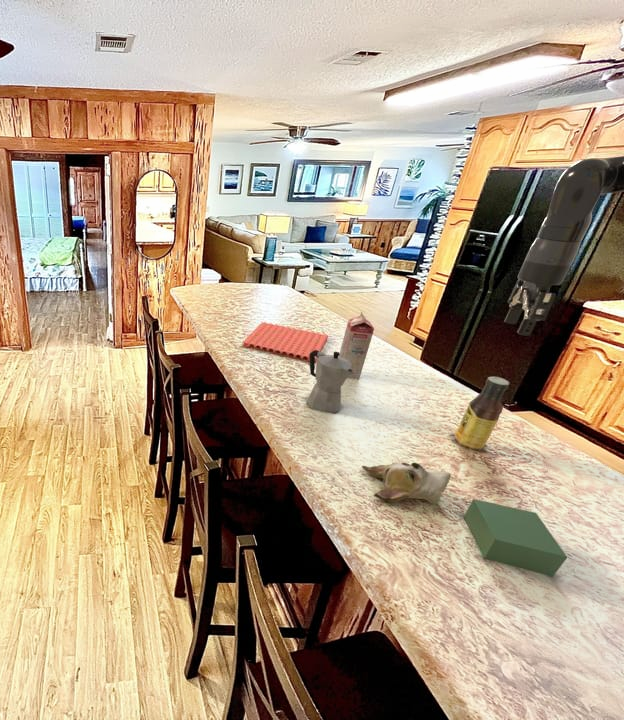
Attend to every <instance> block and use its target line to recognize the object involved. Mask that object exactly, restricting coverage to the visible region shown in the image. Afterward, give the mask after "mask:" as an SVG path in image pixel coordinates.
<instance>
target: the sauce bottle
mask: <svg viewBox="0 0 624 720" xmlns="http://www.w3.org/2000/svg"><path fill="white" fill-rule="evenodd" d="M509 386H510V382H509V380H506V379H505V378H502V377H499V376H489V377H487V378H486V380H485V385H484V387H483V389H482V390H481V392H480V393H479V394H478V395H477V396H475V397H474V398H473V399H472V400H471V401H470V402H469V404H468V406H467V407H466V410H465V412H464V414H463V417H462V419H461V420H460V423H459V425H458V428H457V429H456V431H455V434H454V437H453V440H454V442H455V443H457V444H458V445H459V446H461V447H463V448H464V449H468V450H472V451H481V450H482V449H483V448H485V447H486V444H487V442H488V441H489V438H490V436H491V435H492V433H493V431H494V429H495V427H496V425H497V423H498V421H499V419H500V416H501V414H502V413H503V409H504V405H503V403H502V398H503V396H504V394H505V392H506V390H507V389H508V388H509Z"/></svg>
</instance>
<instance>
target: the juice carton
mask: <svg viewBox="0 0 624 720" xmlns="http://www.w3.org/2000/svg"><path fill="white" fill-rule="evenodd" d="M374 331H375V328H374V326H373V324H372V323H371V322H370V321H369V319H367V318H366V316H365V315H364V313H363V311H360V314H359V315H358V316H355V317H351V318H349V319H348V320H347V323H346V327H345V331H344V335H343V339H342V342H341V347H340V350H339V353H340V354H339V356H338V357H342V358H345V359H347V360H348V361H349V362H350V363H352V364H353V365H352V367H351V368H352V369H353V370H354V371H355V373H354V374H351V375H350V376H348V377H347V378H346V379H351V380H360V377H361V375H362V371H363V368H364V364H365V361H366V358H367V355H368V351H369V349H370V344H371V342H372V337H373V335H374Z"/></svg>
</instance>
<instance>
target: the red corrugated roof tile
mask: <svg viewBox="0 0 624 720" xmlns="http://www.w3.org/2000/svg"><path fill="white" fill-rule="evenodd" d="M328 338H329V335H328V334H326V333H320V332H314V331H309V330H302V329H301V328H296V327H290V326H284V325H279V324H277V323H276V324H273V323H271V322H270V323H268V322H266V321H264V322H261V323H259V325H257V327H256V328H255V329H254V330H253V331H252V332H251V333H250V334H249V335H248V336H247V337H246V338H245V339H244V340H243V341H242V343H241V345H242V346H243V348H249V349H250V350H252V349H255V350H256V351H262V352H263V353H265V352H267V353H269V354H275V355H277V356H279V355H280V356H282V357H288V358H289V359H293V358H294V359H295V360H302V361H303V362H310V359H309V354H310V353H311V352H312V351H314V350H318V351H319V352H323V349H324V347H325V345H326V343H327V340H328ZM315 363H316V364H317V357H316V356H315ZM315 363H314V364H315Z"/></svg>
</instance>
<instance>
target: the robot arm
mask: <svg viewBox="0 0 624 720" xmlns="http://www.w3.org/2000/svg"><path fill="white" fill-rule="evenodd" d="M616 193H624V155H621V156H614V157H606V158H597V157H596V158H592V157H591V158H584V159H581V160H579V161H577V162H575V163H572V164H571V165H569V167H567V168H566V169H565V170H564V172H563V173H562V174H561V175H560V176H559V178H558V181H557V183H556V185H555V188H554V191H553V194H552V196H551V200H550V204H549V208H548V211H547V214H546V217H545V218H544V221H542V224H541V226H540V229H539V231H538V233H537V235H536V237H535V239H534V241H533V242H532V244H531V245H530V248H529V250H528V252H527V254H526V256H525V258H524V261H523V263H522V265H521V267H520V270H519V272H518V275H517V279H518V280H517V281H516V283H515V285H514V287H513V289H512V291H511V294H510V295H509V298H508V299H507V303H508V304H509V305H508V306H509V310H508V312H507V314H506V316H505V318H504V323H505V324H508V325H516V324H517V323H518V321H519V318H520V316H521V314H522V312H523V311H524V315H523V319H522V321H521V323H520V325H519V327H518V329H517V331H516V333H517V334H518V335H520V336H526V337H528V336H531V334H532V333H533V330H534V328H535V326H536V324H537V322H539V321H543V322H544V321H545V320H546V319H547V316H548V314H549V313H550V311H551V308H552V305H553V303H554V301H555V300H556V297H557V294H556V293H554V292H553V293H552V292H550V290H551V287H552V286H560V285H562V284H563V283H564V281H565V279H566V276H568V275H567V274H568V273H569V271H570V269H571V267H572V265H573V262H574V261H575V258H576V256H577V255H578V253H579V250H580V247H581V243H582V241H583V239H584V237H585V235H586V233H587V231H588V229H589V227H590V225H591V222H592V220H593V214H592V213H593V211H594V209H595V207H596V204H597V202H598V201H599V199H600V196H603V195H609V194H616Z"/></svg>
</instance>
